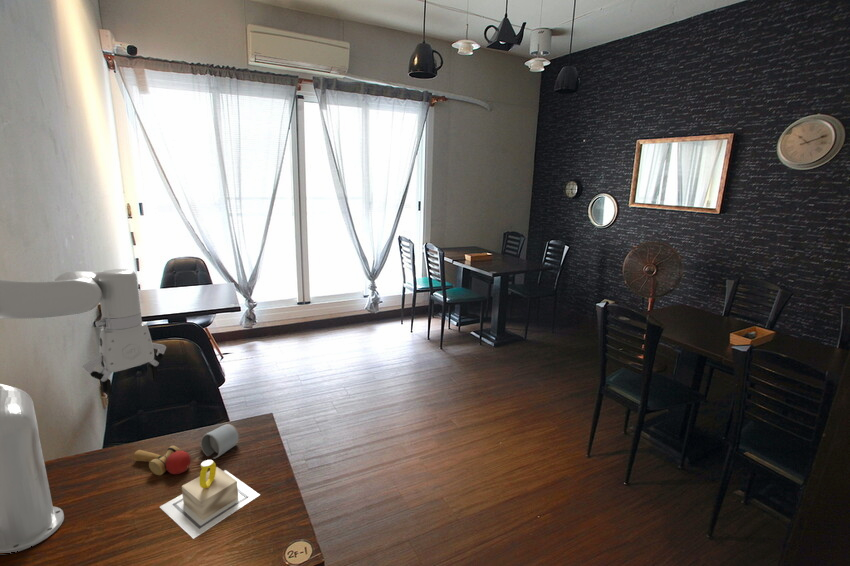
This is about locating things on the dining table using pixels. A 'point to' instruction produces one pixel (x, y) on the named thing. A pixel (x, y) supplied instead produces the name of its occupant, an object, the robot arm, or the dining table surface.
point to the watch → (205, 466)
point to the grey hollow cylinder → (220, 440)
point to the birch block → (210, 494)
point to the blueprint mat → (198, 526)
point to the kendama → (165, 460)
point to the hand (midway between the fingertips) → (131, 386)
